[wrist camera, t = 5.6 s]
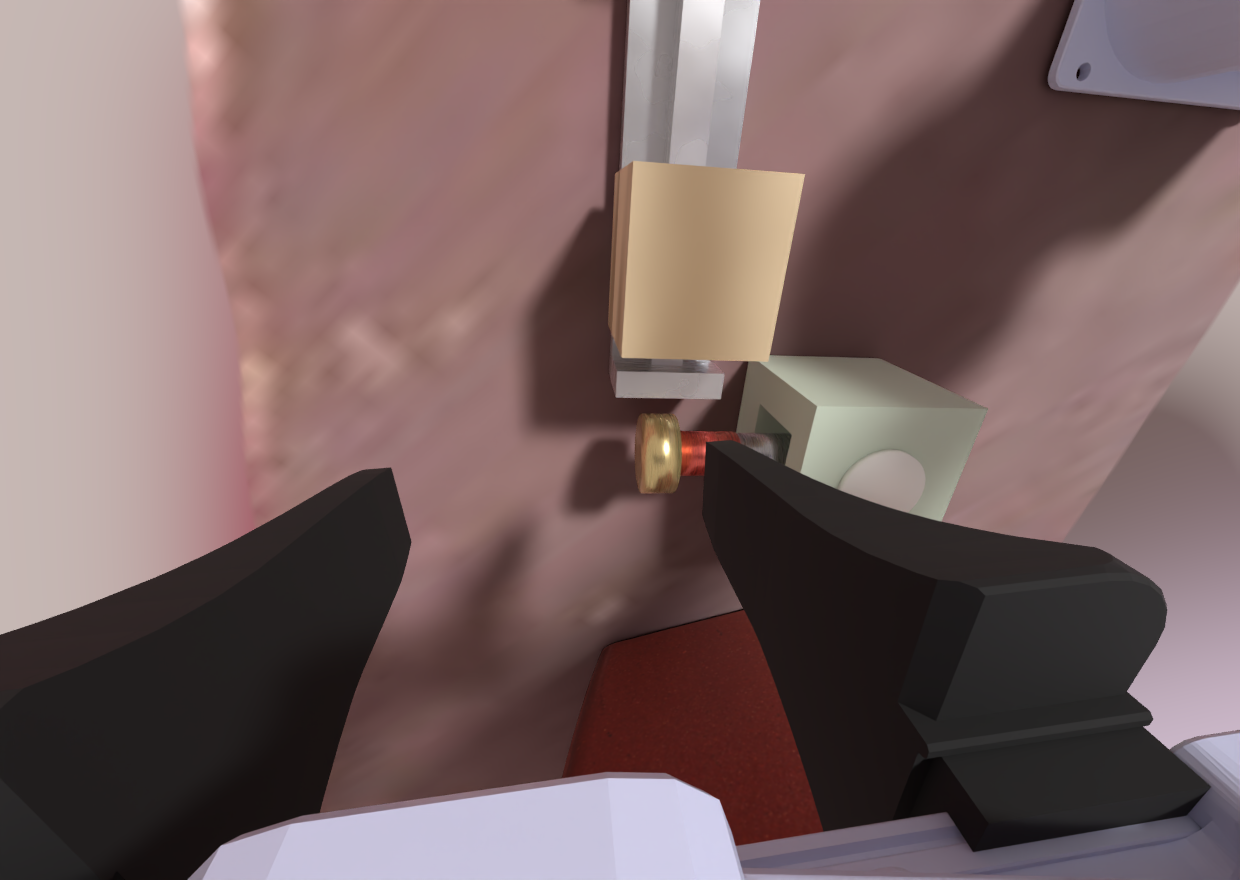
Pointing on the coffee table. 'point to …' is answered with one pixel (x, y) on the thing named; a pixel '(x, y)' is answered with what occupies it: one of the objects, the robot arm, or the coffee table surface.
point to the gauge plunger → (687, 450)
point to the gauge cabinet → (864, 427)
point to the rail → (682, 133)
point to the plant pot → (699, 724)
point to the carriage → (699, 260)
